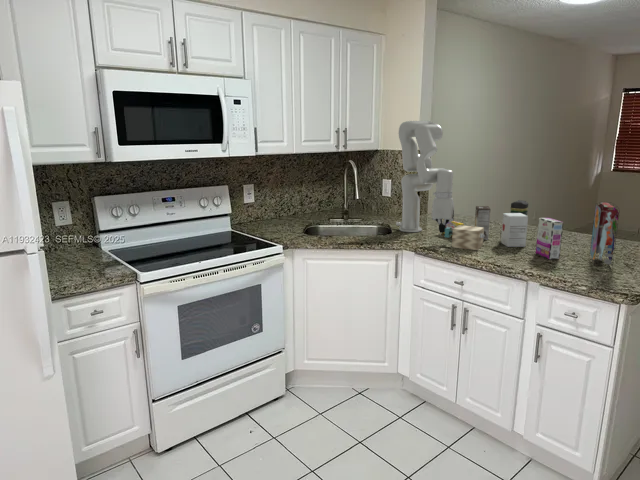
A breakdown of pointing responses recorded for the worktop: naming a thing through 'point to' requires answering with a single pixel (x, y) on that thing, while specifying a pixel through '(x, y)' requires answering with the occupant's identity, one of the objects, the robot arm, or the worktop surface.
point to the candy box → (453, 224)
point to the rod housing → (467, 237)
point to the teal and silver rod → (449, 232)
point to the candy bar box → (549, 238)
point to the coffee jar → (519, 207)
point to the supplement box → (514, 229)
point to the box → (604, 232)
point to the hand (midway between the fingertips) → (442, 232)
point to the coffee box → (483, 219)
